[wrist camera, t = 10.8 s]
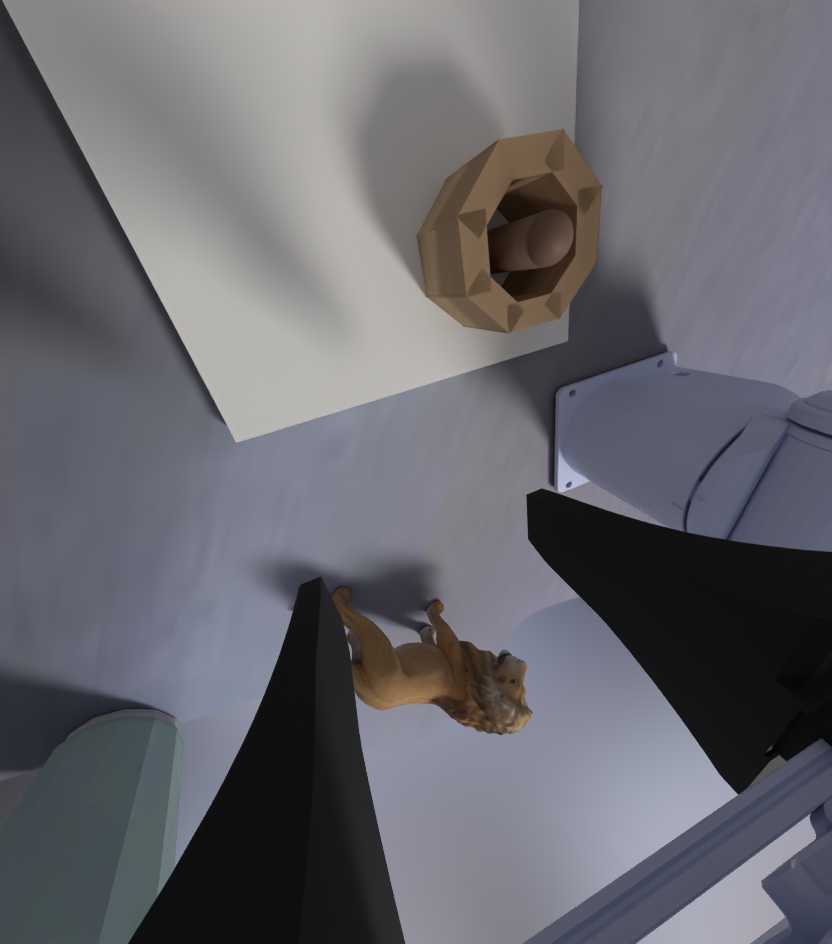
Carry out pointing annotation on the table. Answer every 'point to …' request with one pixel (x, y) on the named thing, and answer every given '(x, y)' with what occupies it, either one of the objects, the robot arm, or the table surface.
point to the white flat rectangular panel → (302, 173)
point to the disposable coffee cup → (93, 833)
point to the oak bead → (515, 196)
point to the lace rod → (530, 242)
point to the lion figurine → (436, 672)
